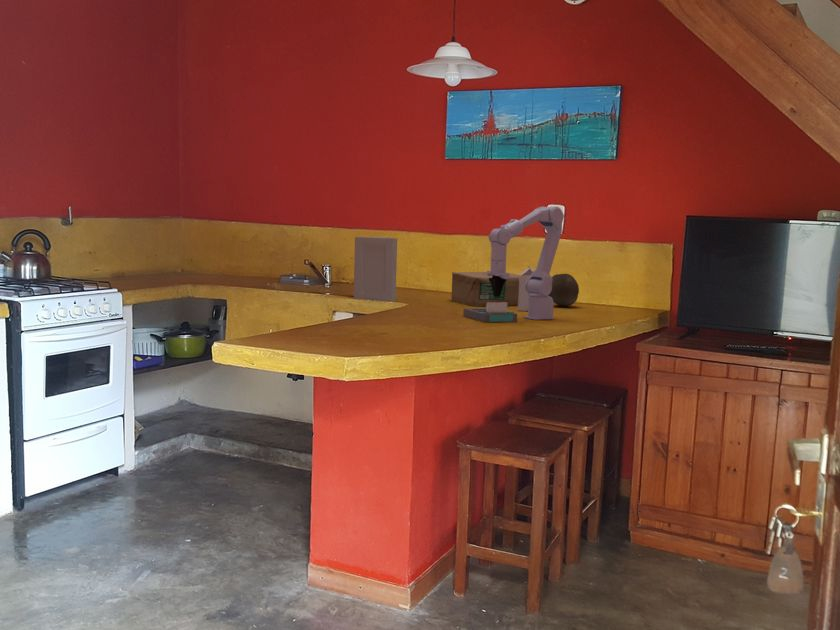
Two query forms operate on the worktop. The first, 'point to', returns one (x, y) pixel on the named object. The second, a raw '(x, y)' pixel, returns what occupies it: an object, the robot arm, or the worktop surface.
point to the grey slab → (496, 307)
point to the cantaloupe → (564, 290)
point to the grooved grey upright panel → (375, 268)
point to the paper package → (482, 289)
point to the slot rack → (489, 315)
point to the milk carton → (524, 290)
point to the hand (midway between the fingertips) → (496, 296)
